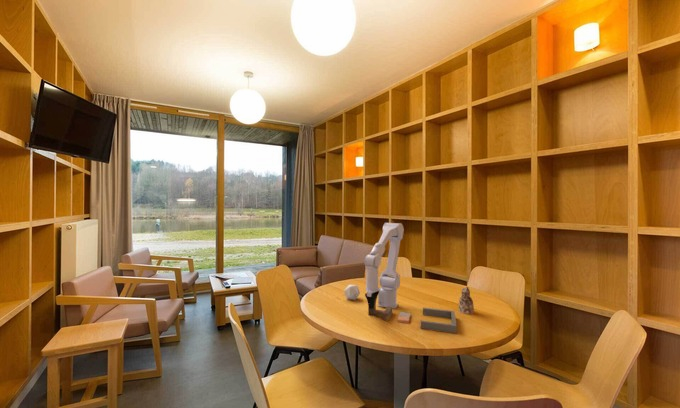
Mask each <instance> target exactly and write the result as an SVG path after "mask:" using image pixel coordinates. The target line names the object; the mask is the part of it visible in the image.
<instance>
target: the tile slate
mask: <svg viewBox="0 0 680 408" xmlns="http://www.w3.org/2000/svg"><path fill="white" fill-rule="evenodd" d="M411 314H412V313H410V312H401V311H400V312H399V314H398V316H405V317H409V320H410V319H411Z"/></svg>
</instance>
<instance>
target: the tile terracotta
mask: <svg viewBox="0 0 680 408" xmlns="http://www.w3.org/2000/svg"><path fill="white" fill-rule="evenodd" d="M397 322H398V323H403V324H405V323H406V324H410V319H409V317H405V316H399V315H398V317H397Z"/></svg>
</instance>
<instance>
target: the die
mask: <svg viewBox="0 0 680 408" xmlns="http://www.w3.org/2000/svg"><path fill="white" fill-rule="evenodd" d="M343 292H344V295H345V298H346V300H350V301H351V300H352V301H357V299H358V298H359V296H360V294H361V293H360V289H359V287H358V285H357V284H347V286H346V287H345V289H344V290H343Z"/></svg>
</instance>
